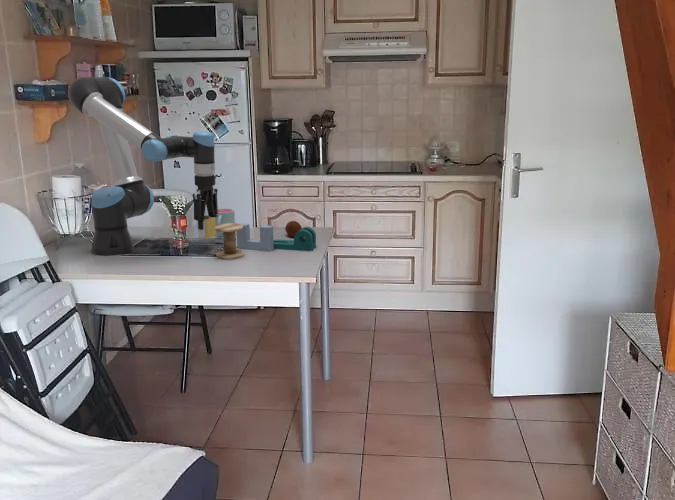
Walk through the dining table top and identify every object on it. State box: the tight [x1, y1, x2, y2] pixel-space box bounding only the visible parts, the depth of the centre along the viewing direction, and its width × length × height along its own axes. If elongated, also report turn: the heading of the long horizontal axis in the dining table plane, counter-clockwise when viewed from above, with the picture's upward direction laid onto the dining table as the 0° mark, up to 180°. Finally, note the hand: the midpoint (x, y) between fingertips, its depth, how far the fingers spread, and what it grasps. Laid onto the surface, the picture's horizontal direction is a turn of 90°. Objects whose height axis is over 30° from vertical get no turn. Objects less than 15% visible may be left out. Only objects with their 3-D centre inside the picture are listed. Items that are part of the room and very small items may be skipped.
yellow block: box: [197, 215, 217, 240], centre depth 236 cm, size 4×6×8 cm
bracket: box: [273, 226, 317, 252], centre depth 240 cm, size 18×7×8 cm, turn 77°
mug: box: [214, 208, 236, 238], centre depth 259 cm, size 14×9×10 cm
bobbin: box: [215, 222, 245, 260], centre depth 228 cm, size 10×10×11 cm
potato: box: [284, 220, 303, 238], centre depth 258 cm, size 7×9×6 cm
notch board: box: [236, 223, 275, 252], centre depth 238 cm, size 14×3×9 cm, turn 69°
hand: (206, 235), depth 237 cm, fingers closed on yellow block, 5 cm apart
